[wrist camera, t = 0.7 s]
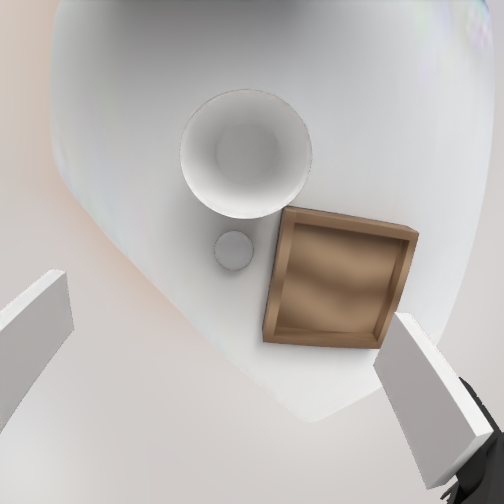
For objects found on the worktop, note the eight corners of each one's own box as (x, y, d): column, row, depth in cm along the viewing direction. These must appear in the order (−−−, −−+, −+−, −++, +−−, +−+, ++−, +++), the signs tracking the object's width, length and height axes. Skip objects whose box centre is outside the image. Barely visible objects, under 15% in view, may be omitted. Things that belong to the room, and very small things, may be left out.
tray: (283, 205, 33) (286, 210, 30) (407, 226, 34) (419, 233, 31) (262, 327, 38) (263, 341, 35) (374, 336, 38) (381, 348, 36)
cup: (306, 170, 32) (337, 183, 20) (229, 210, 33) (219, 244, 22) (264, 94, 29) (273, 64, 18) (187, 136, 30) (153, 130, 19)
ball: (218, 224, 34) (214, 234, 30) (255, 229, 34) (256, 240, 30) (214, 259, 35) (210, 273, 31) (250, 264, 35) (250, 278, 31)
